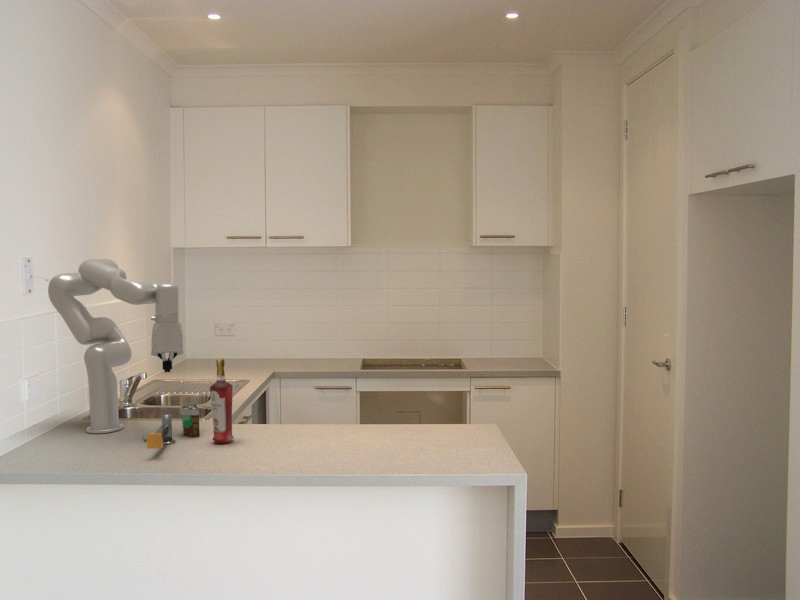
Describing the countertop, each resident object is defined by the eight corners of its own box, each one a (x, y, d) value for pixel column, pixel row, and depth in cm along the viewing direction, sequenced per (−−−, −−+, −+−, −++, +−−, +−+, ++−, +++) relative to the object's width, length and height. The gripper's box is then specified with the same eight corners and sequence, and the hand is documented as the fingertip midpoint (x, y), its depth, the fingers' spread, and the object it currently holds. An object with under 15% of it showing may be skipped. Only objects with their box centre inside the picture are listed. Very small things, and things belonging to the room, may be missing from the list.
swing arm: (158, 435, 231) (158, 422, 230) (172, 434, 231) (172, 421, 231) (147, 448, 215) (146, 434, 215) (162, 447, 215) (161, 433, 215)
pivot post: (159, 441, 235) (158, 414, 234) (174, 440, 237) (173, 412, 236) (160, 445, 230) (159, 417, 230) (176, 443, 232) (175, 415, 232)
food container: (179, 431, 249) (178, 403, 248) (197, 429, 251) (196, 402, 250) (181, 439, 237) (180, 410, 237) (200, 437, 239) (198, 409, 239)
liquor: (207, 443, 232) (204, 360, 230) (222, 438, 238) (219, 357, 236) (224, 446, 228) (221, 361, 226) (239, 440, 235) (236, 358, 233)
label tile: (143, 436, 243) (142, 433, 243) (161, 434, 245) (161, 431, 245) (144, 441, 235) (144, 438, 235) (163, 439, 238) (163, 436, 238)
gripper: (145, 321, 234) (145, 374, 236) (190, 319, 240) (191, 372, 242) (143, 318, 241) (143, 371, 242) (187, 317, 247) (188, 368, 249)
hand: (167, 371), depth 242 cm, fingers closed
